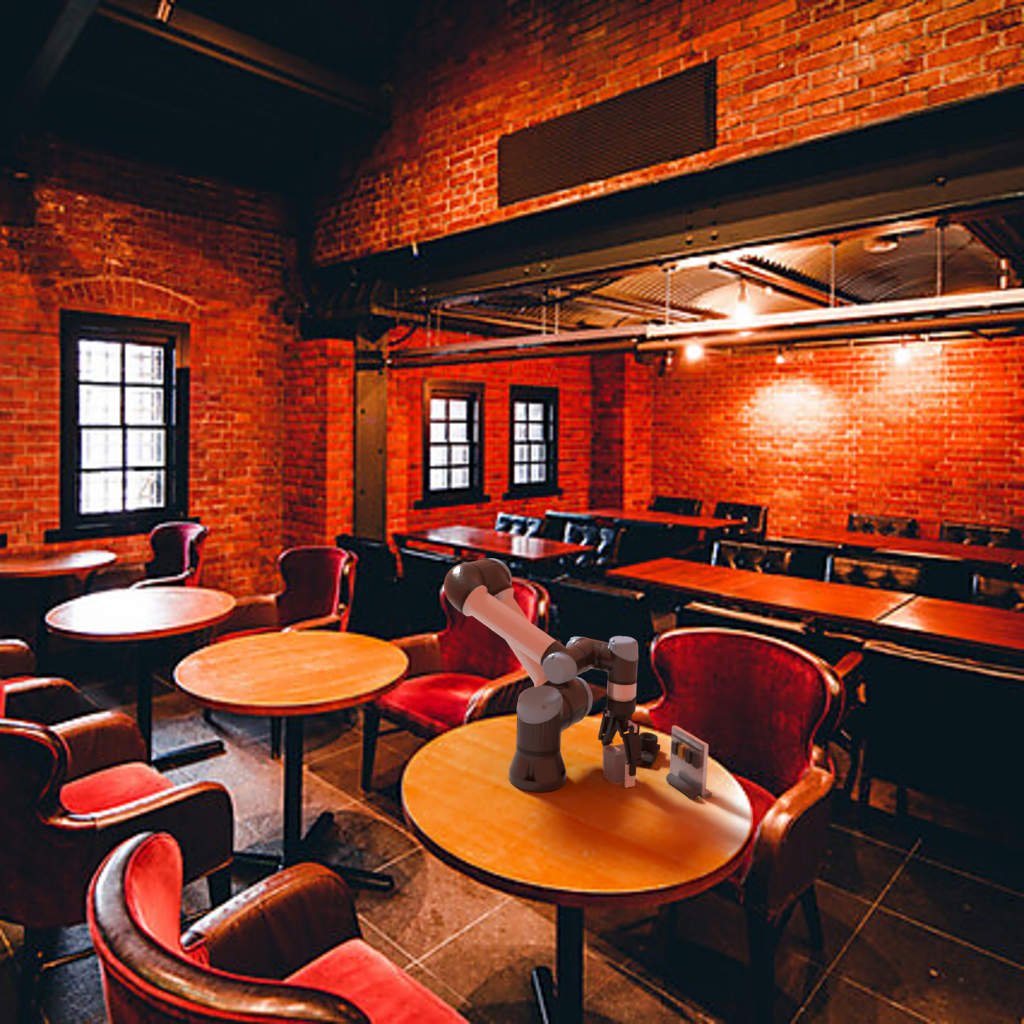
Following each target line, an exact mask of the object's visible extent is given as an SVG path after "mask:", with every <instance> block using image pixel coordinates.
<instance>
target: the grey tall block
mask: <svg viewBox="0 0 1024 1024" xmlns="http://www.w3.org/2000/svg"><path fill="white" fill-rule="evenodd" d="M612 745H613V744H612ZM626 762H628V761H627V757H626V752H625V748H624V744H623V743H621V744H616V745H615V744H614V745H613V746H610V747H605V750H604V770H603V775H602V776H603V777H604V778H605V779H606V780H607V781H609V782H610V783H611V782H612V785H617V784H623V783H625V763H626ZM622 782H623V783H622Z"/></svg>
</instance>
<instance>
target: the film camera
mask: <svg viewBox="0 0 1024 1024" xmlns="http://www.w3.org/2000/svg"><path fill="white" fill-rule="evenodd" d="M639 736H640V744H641V753H642V763H640V764H637V765H639V766H642V767H645V768H650V769H652V768H653V766H654V764H655V761H656V759H657V758H658V756H659V751H660V750H661V744H658V742H659V739H658V738H659V736H657V735H656V734H655V733H652V732H648V731H647V732H645V731H644V732H639Z"/></svg>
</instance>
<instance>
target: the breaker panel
mask: <svg viewBox="0 0 1024 1024" xmlns="http://www.w3.org/2000/svg"><path fill="white" fill-rule="evenodd" d="M708 760H709V744H708V743H706V742H705V741H703V740H701V739H699V738H698V737H696V736H695V735H693V734H691V733H690V732H688V731H686V730H685V729H684V728H681V727H680V726H677V725H672V726H671V742H670V759H669V763H670V764H669V773H672V774H674V775H675V776H677V777H678V778H680V779H681V780H683V781H684V782H686V783H687V784H688V785H690V786H691V787H693V788H694V789H696V790H697V791H698V797H699V798H700V799H705V798H709V797H712V796H713V792H712V791H710V790H709V789H707V780H708V779H707V777H708V762H709V761H708Z"/></svg>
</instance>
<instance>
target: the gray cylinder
mask: <svg viewBox="0 0 1024 1024" xmlns="http://www.w3.org/2000/svg"><path fill="white" fill-rule="evenodd" d="M665 779H666V781H667V783H669V784H670V785H672V786H674V787H675V788H676V789H677V790H679V791H680V792H682V793H684V794H685V795H686V796H688V797H689V798H690V799H691V800H696V799H697V798H698V797H699V796H698V791H697V790H696V789H694V788H693V787H691V786H690V785H688V784H687V783H686V782H684V781H683V780H681V779H680V778H678V777H677V776H675V775H674V774H672V773H670V772H669V773H668V774H667V775H666V777H665Z"/></svg>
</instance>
